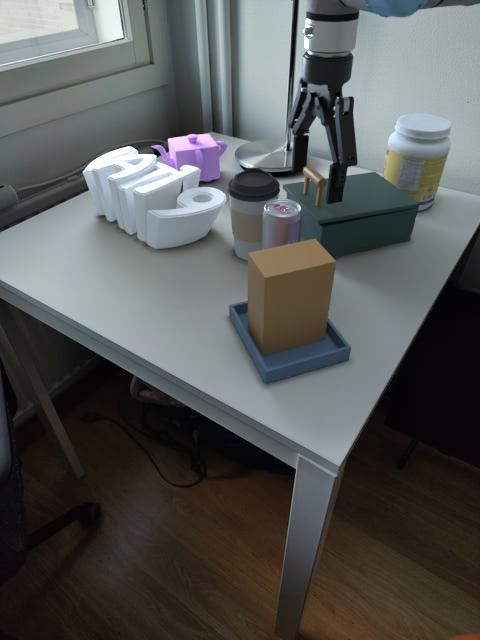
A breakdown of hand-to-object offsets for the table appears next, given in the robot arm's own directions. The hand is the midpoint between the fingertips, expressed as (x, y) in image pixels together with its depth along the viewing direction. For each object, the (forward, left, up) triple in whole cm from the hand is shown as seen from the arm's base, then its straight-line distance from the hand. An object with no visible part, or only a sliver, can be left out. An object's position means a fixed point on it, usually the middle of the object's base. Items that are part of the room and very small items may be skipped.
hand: (315, 185), depth 83 cm
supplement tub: (+8, -27, -12) cm, 31 cm away
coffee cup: (+1, +12, -12) cm, 16 cm away
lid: (+1, -8, -4) cm, 9 cm away
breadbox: (+1, -8, -11) cm, 14 cm away
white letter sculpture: (+21, +27, -12) cm, 36 cm away
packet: (-23, +16, -11) cm, 30 cm away
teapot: (+37, +14, -12) cm, 41 cm away
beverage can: (-11, +12, -12) cm, 20 cm away
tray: (-23, +16, -11) cm, 30 cm away
